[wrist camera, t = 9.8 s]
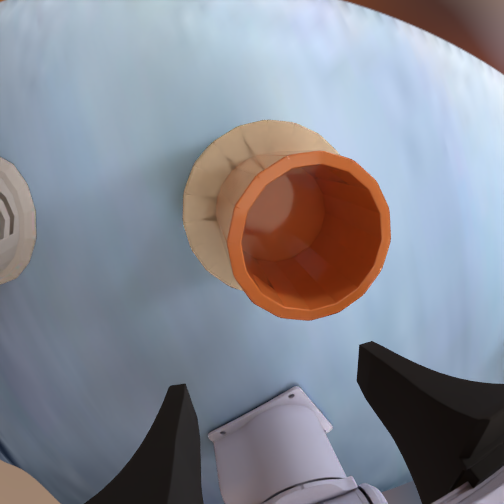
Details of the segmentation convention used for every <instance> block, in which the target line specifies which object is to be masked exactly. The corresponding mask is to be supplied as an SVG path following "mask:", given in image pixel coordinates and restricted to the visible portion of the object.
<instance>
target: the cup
mask: <svg viewBox="0 0 504 504" xmlns="http://www.w3.org/2000/svg"><path fill="white" fill-rule="evenodd" d="M216 218H217V224H218V228H219V232H220V237H221V240H222V243H223V246H224V249H225V252H226V255H227V258H228V261H229V264H230V267H231V270H232V273H233V276H234V278H235V280H236V281H237V282H238V284H239V285H240V286H241V288H242V289H243V291H244V292H245V293H246V295H247V296H248V297H249V299H250V300H251V301H252V302H253V303H254V304H256V305H257V306H259V307H261V308H263V309H264V310H266V311H268V312H270V313H272V314H273V315H275V316H277V317H280V318H286V319H296V320H306V321H309V320H314V319H318V318H322V317H325V316H329V315H332V314H336V313H338V312H340V311H342V310H343V309H345V308H346V307H347V306H349V305H350V304H352V303H353V302H354V301H356V300H357V299H359V298H360V297H361V296H363V294H365V292H366V291H367V290H368V288H369V287H370V286H371V284H372V283H373V281H374V280H375V279H376V277H377V276H378V274H379V273H380V272H381V269H382V268H383V264H384V261H385V258H386V255H387V251H388V248H389V245H390V240H391V230H390V211H389V207H388V205H387V203H386V200H385V198H384V196H383V194H382V191H381V189H380V187H379V185H378V183H377V182H376V180H375V179H374V178H373V177H372V176H371V175H370V174H369V173H368V172H366V171H365V170H364V169H363V168H362V167H361V166H360V165H359V164H358V163H356V162H355V161H354V160H352V159H350V158H346V157H343V156H340V155H337V154H334V153H330V152H327V151H324V150H323V151H321V150H305V151H277V152H271V153H263V154H259V155H255V156H253V157H250V158H248V159H246V160H245V161H243V162H242V163H240V164H239V165H237V166H236V167H235V168H234V169H233V170H232V171H231V172H230V173H229V175H228V176H227V177H226V179H225V181H224V182H223V184H222V186H221V188H220V191H219V194H218V197H217V203H216Z"/></svg>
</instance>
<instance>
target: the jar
mask: <svg viewBox="0 0 504 504" xmlns="http://www.w3.org/2000/svg"><path fill="white" fill-rule="evenodd" d="M305 150H321V151H323V150H324V151H327V152H330V153H334V154H337V155H340V154H338V152H337V151H336V150H335V149H334V148H333V147H332V146H331V145H330V144H329V143H328V142H327V141H326V140H325V139H324V138H323V137H322V136H321V135H319V134H318V133H316V132H314V131H312V130H310V129H308V128H305V127H303V126H301V125H299V124H297V123H293V122H285V121H276V120H262V121H257V122H253V123H248V124H244V125H240V126H238V127H235V128H234V129H232V130H231V131H229V132H227V133H226V134H224V135H223V136H221V137H219V138H218V139H216V140H215V141H213V142H212V143H211V144H210V145H209V146H208V147H207V148H206V149H205V150H204V151H203V153H202V154H201V155H200V156H199V158H198V159H197V160H196V161H195V164H194V165H193V167H192V170H191V173H190V175H189V178H188V181H187V184H186V187H185V190H184V194H183V225H184V229H185V232H186V235H187V238H188V241H189V244H190V247H191V249H192V251H193V253H194V254H195V255H196V257H197V258H198V259H199V261H200V262H201V264H202V265H203V266H204V268H205V269H206V270H207V271H209V273H211V274H212V275H213V276H215V277H216V278H218V279H219V280H221V281H222V282H224V283H225V284H226V285H228V286H230V287H232V288H235V289H239V290H242V291H243V289H242V288H241V286H240V285H239V284H238V282H237V281H236V280H235V278H234V276H233V273H232V270H231V267H230V264H229V261H228V258H227V255H226V252H225V249H224V246H223V243H222V240H221V237H220V232H219V228H218V224H217V218H216V203H217V197H218V194H219V191H220V188H221V186H222V184H223V182H224V181H225V179H226V177H227V176H228V175H229V173H230V172H231V171H232V170H233V169H234V168H235V167H236V166H237V165H239V164H240V163H242V162H243V161H245V160H246V159H248V158H250V157H253V156H255V155H259V154H263V153H271V152H277V151H305Z"/></svg>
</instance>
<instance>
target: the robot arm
mask: <svg viewBox="0 0 504 504" xmlns="http://www.w3.org/2000/svg"><path fill="white" fill-rule="evenodd" d="M357 382H358V384H359V386H360V389H361V391H362V393H363V394H364V396H365V398H366V400H367V401H368V403H369V404H370V406H371V407H372V409H373V410H374V412H375V413H376V414H377V416H378V417H379V419H380V420H381V421H382V423H383V424H384V426H385V427H386V429H387V430H388V431H389V433H390V434H391V436H392V438H393V439H394V441H395V443H396V445H397V446H398V448H399V450H400V452H401V454H402V456H403V458H404V460H405V462H406V465H407V467H408V469H409V471H410V473H411V476H412V478H413V480H414V483H415V485H416V488H417V490H418V493H419V496H420V499H421V502H422V504H504V384H492V383H482V382H475V381H469V380H464V379H460V378H456V377H452V376H448V375H445V374H442V373H439V372H436V371H433V370H431V369H428V368H426V367H424V366H421V365H419V364H417V363H414V362H412V361H410V360H408V359H406V358H404V357H402V356H400V355H398V354H396V353H394V352H392V351H391V350H389V349H387V348H385V347H383V346H381V345H379V344H377V343H375V342H373V341H371V342H367V343H364V344H361V345H359V358H358V371H357ZM290 394H292V395H290ZM332 428H333V427H332V425H331V423H330V422H329V421H328V420H327V419H326V418H325V416H324V415H323V414H322V413H321V412H320V410H319V409H318V408H317V407H316V406H315V405H314V403H313V402H312V401H311V400H310V399H309V397H308V396H307V395H306V394H305V393H304V391H303V390H302V389H301V388H300V387H299V386H295V387H293V388H291V389H289V390H287V391H286V392H284V393H282V394H281V395H279V396H277V397H276V398H274V399H272V400H270V401H269V402H267V403H265V404H263V405H261V406H260V407H258V408H256V409H254V410H252V411H250V412H249V413H247V414H245V415H243V416H241V417H239V418H237V419H235V420H233V421H231V422H230V423H228V424H226V425H224V426H222V427H220V428H218V429H216V430H213V431H211V432H210V433H209V434H208V438H209V439H210V440H211V441H213V442H214V450H215V457H216V465H217V472H218V479H219V486H220V491H221V495H222V498H223V500H224V502H225V504H388V503H387V501H386V499H385V498H384V496H383V495H382V493H381V492H380V491H379V490H378V489H377V488H376V487H374V486H371V485H369V484H367V483H363V484H360V485H358V486H357V484H356V482H355V480H354V478H353V476H349V477H346V475H345V473H344V471H343V469H342V466H341V464H340V462H339V460H338V458H337V456H336V454H335V452H334V450H333V448H332V446H331V444H330V442H329V440H328V438H327V436H326V433H328V432H329V431H331V430H332ZM222 431H224V432H222ZM84 504H204V503H203V497H202V488H201V455H200V434H199V426H198V419H197V415H196V413H195V410H194V407H193V404H192V401H191V398H190V395H189V393H188V390H187V387H186V384H180V385H172V386H170V387H169V389H168V391H167V394H166V396H165V399H164V401H163V404H162V406H161V408H160V410H159V412H158V414H157V416H156V419H155V421H154V423H153V425H152V426H151V428H150V430H149V432H148V434H147V435H146V437H145V439H144V440H143V442H142V444H141V445H140V447H139V448H138V450H137V451H136V453H135V454H134V455H133V457H132V458H131V459H130V461H129V462H128V463H127V464H126V466H125V467H124V468H123V469H122V470H121V471H120V473H119V474H118V475H117V476H116V477H115V478H114V479H113V480H112V481H111V482H110V483H109V484H108V485H107V486H106V487H105V488H104V489H102V490H101V491H100V492H99V493H98V494H96V495H95V496H94V497H92V498H91V499H90V500H88V501H87V502H86V503H84Z"/></svg>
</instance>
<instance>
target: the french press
mask: <svg viewBox="0 0 504 504" xmlns="http://www.w3.org/2000/svg"><path fill="white" fill-rule="evenodd" d="M35 241H36V210H35V207H34V204H33V201H32V198H31V194H30V191H29V188H28V184H27V183H26V181H25V180H24V179H23V177H22V176H21V175H20V173H19V172H18V170H17V169H16V167H15V166H14V165H13V164H12V163H10V162H8V161H6V160H5V159H3V158H1V157H0V284H3V283H6V282H8V281H11V280H13V279H16V278H17V277H18V276H19V275H20V273H21V272H22V271H23V270H24V268H25V267H26V266H27V264H28V263H29V262H30V258H31V255H32V251H33V248H34V244H35Z"/></svg>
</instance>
